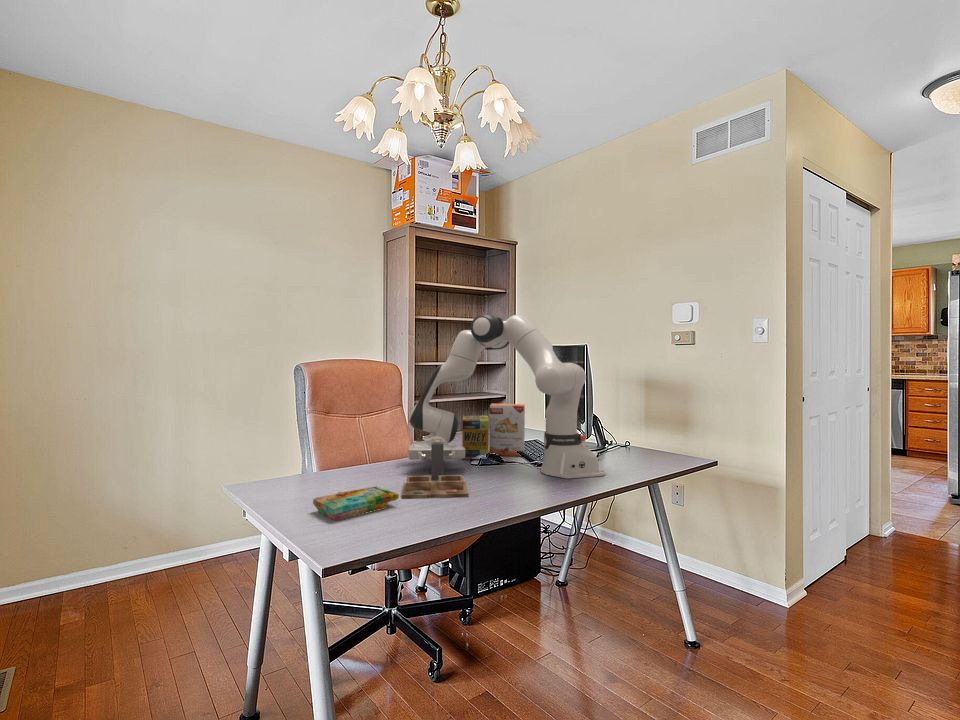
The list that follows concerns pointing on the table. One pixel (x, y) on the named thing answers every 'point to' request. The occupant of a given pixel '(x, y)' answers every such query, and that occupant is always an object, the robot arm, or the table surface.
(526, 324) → the robot arm
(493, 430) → the cracker box
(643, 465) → the table surface
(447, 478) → the socket board
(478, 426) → the protein box
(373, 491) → the puzzle game
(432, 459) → the plug
